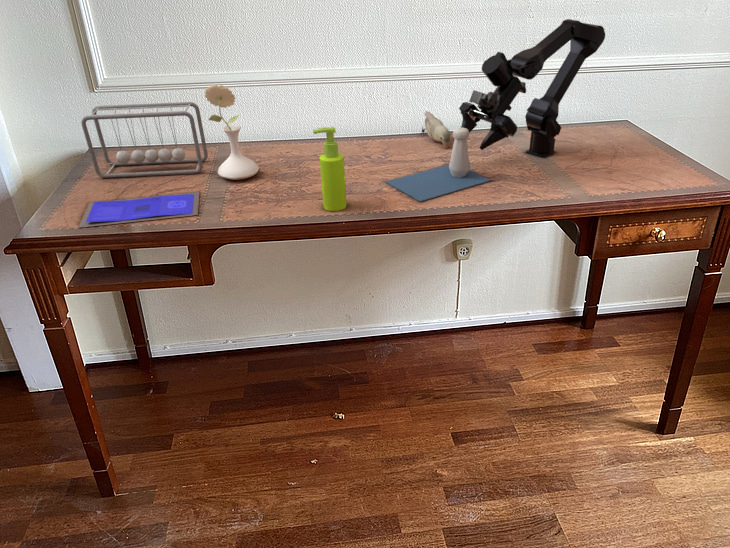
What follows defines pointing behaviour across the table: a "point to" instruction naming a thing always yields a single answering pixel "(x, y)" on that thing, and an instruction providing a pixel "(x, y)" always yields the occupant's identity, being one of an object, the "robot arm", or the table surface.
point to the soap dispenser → (332, 173)
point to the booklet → (140, 209)
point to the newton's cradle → (149, 154)
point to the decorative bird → (436, 129)
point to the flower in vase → (230, 137)
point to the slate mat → (435, 183)
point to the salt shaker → (459, 153)
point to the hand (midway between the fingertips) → (469, 144)
